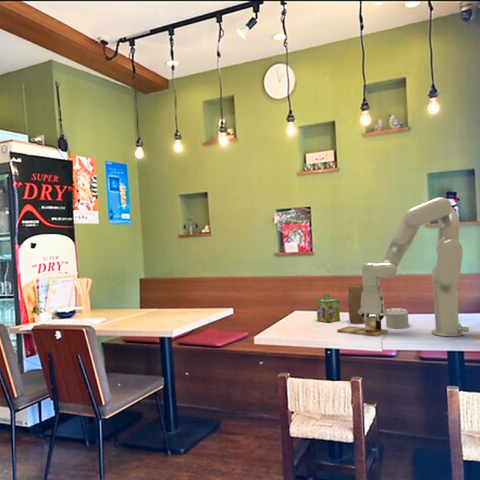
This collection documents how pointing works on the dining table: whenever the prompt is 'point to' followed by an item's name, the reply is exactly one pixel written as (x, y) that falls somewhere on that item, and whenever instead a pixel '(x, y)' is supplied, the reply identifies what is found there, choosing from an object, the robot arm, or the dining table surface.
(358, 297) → the block
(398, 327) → the lumpy-topped squat cylinder
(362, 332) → the board
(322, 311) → the chalk box
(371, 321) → the block
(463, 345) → the dining table surface
